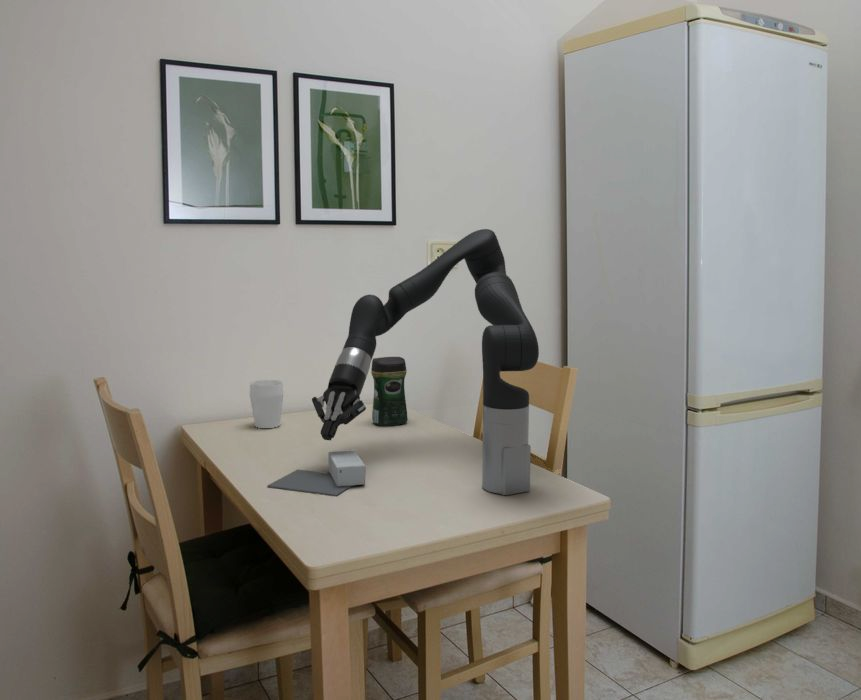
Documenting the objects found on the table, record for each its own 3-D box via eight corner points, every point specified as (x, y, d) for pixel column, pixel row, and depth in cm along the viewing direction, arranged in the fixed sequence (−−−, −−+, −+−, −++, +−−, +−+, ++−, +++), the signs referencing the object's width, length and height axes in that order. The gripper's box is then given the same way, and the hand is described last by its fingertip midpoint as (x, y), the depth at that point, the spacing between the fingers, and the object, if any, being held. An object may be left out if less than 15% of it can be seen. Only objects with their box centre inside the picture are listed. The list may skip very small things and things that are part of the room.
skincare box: (328, 470, 164) (336, 487, 153) (328, 451, 164) (335, 466, 152) (355, 468, 166) (365, 484, 154) (355, 449, 165) (365, 464, 154)
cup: (244, 428, 203) (242, 385, 201) (261, 421, 211) (259, 379, 209) (274, 431, 200) (273, 386, 198) (290, 423, 209) (289, 380, 207)
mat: (297, 470, 165) (297, 469, 165) (363, 478, 159) (363, 477, 159) (267, 487, 154) (267, 485, 154) (336, 496, 148) (336, 494, 148)
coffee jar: (401, 418, 214) (401, 354, 212) (410, 424, 207) (410, 358, 204) (368, 421, 211) (367, 355, 208) (376, 427, 204) (376, 359, 201)
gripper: (382, 383, 170) (359, 450, 161) (330, 380, 175) (305, 444, 165) (372, 363, 164) (347, 431, 155) (318, 360, 169) (291, 426, 160)
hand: (325, 438), depth 160 cm, fingers closed
